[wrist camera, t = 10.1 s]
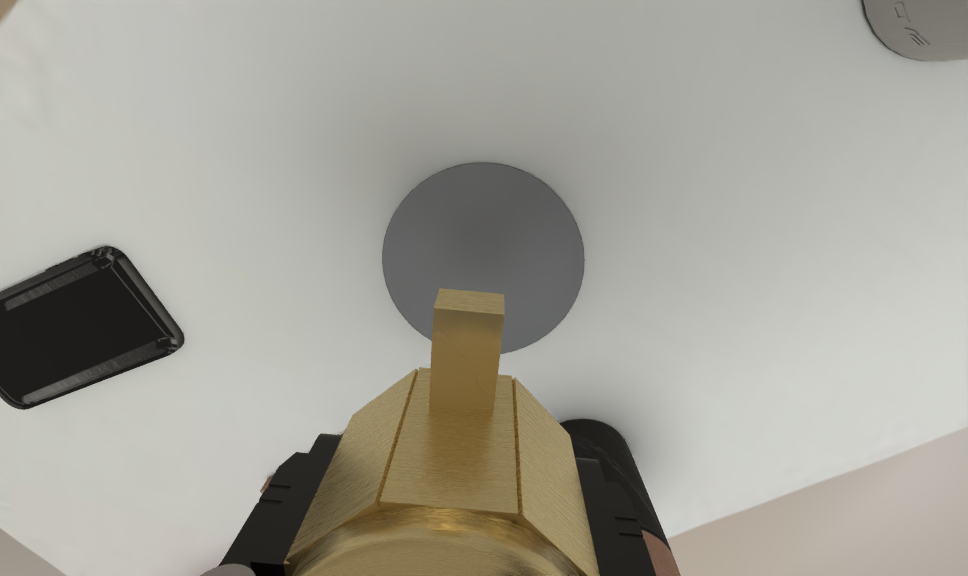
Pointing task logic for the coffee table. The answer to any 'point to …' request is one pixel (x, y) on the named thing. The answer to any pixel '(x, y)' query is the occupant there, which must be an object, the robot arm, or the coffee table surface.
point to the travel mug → (623, 483)
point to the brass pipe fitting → (450, 471)
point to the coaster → (485, 249)
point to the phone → (79, 328)
